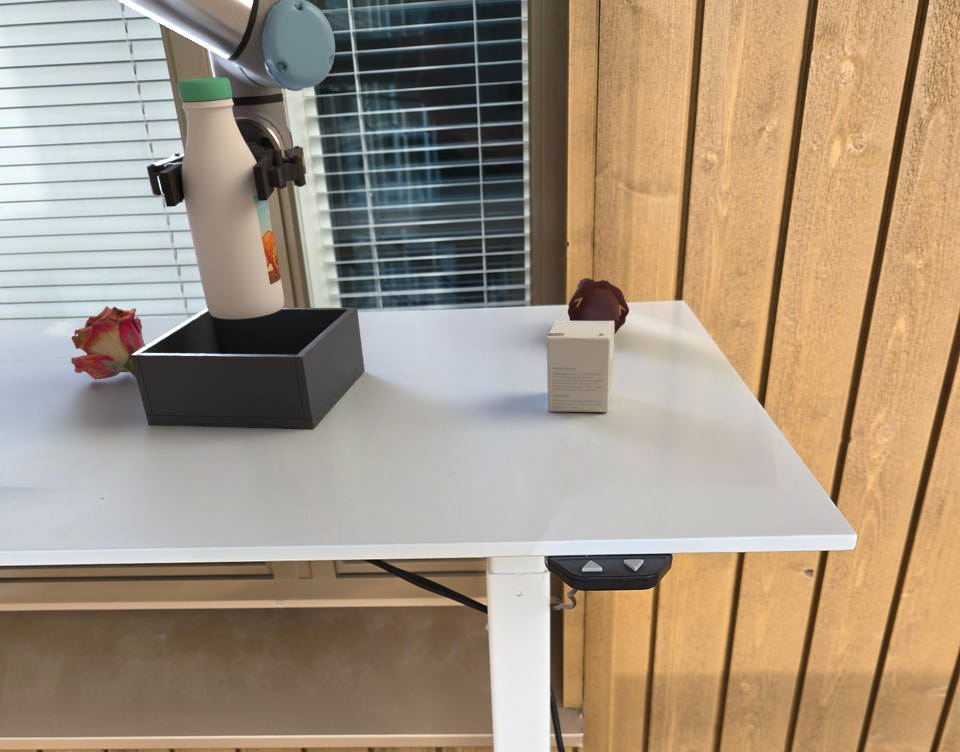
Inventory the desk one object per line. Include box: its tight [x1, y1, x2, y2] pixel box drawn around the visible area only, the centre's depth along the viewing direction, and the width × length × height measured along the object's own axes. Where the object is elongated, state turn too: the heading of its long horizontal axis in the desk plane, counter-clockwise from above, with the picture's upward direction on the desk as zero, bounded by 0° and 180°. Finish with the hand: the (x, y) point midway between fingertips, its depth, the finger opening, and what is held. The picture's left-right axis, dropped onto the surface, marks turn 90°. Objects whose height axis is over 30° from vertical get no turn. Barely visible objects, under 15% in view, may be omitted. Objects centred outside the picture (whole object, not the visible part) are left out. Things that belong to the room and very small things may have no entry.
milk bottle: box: [177, 77, 285, 319], centre depth 84 cm, size 8×8×20 cm
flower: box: [70, 306, 146, 381], centre depth 100 cm, size 10×9×8 cm
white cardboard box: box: [545, 320, 615, 413], centre depth 87 cm, size 6×6×7 cm
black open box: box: [130, 307, 365, 430], centre depth 93 cm, size 18×18×7 cm
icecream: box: [567, 277, 630, 336], centre depth 105 cm, size 7×7×15 cm
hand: (213, 186), depth 79 cm, fingers closed on milk bottle, 7 cm apart
